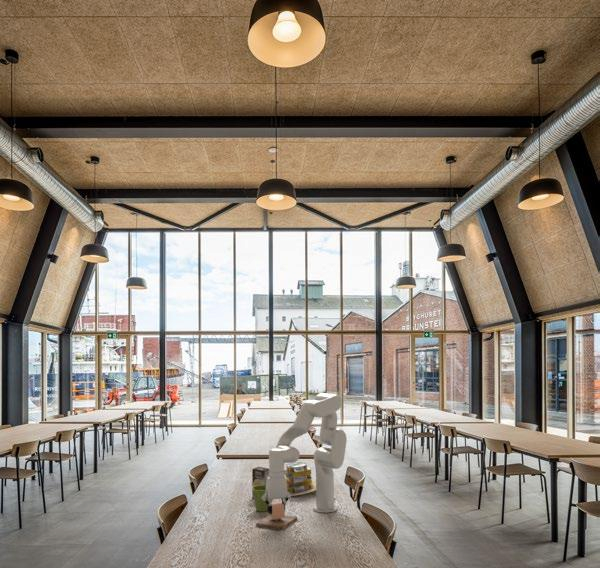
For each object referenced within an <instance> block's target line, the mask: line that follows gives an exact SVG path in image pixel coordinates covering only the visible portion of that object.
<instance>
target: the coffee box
mask: <svg viewBox="0 0 600 568" xmlns="http://www.w3.org/2000/svg"><path fill="white" fill-rule="evenodd" d="M251 470H252V472H251V474H252V476H251V477H252V479H251V481H252V482H251V484H252V486H251V490H252V491H251V492H252V493H251V495H252V496H251V498H253V499H255V498H254V493H253V489H252V487H254V486H257V485H266V482H267V477H269V467H263V466H257V467H254V468H252V469H251Z"/></svg>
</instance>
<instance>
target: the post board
mask: <svg viewBox="0 0 600 568" xmlns="http://www.w3.org/2000/svg"><path fill="white" fill-rule="evenodd" d="M297 521H298V516H294V515H293V516H292V515H288V514H285V518H280V519H272V518H271V517H270V516H269V515H267V516H266V517H264V518H261V519H260V520H259V521H257V522H256V523H255V525H256V526H255V527H258V528H263V529H270V530H275V531H276V530H277V531H281V532H282V531H283V530H285V529H286V528H288V527H289V526H291V525H292V524H294V523H296V522H297Z"/></svg>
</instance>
